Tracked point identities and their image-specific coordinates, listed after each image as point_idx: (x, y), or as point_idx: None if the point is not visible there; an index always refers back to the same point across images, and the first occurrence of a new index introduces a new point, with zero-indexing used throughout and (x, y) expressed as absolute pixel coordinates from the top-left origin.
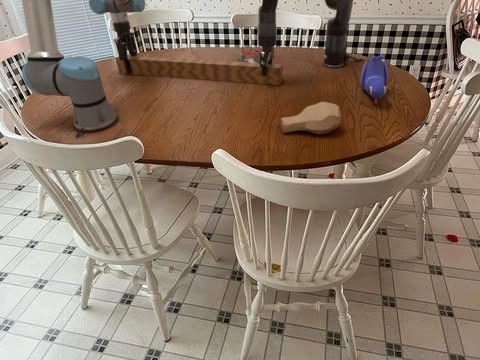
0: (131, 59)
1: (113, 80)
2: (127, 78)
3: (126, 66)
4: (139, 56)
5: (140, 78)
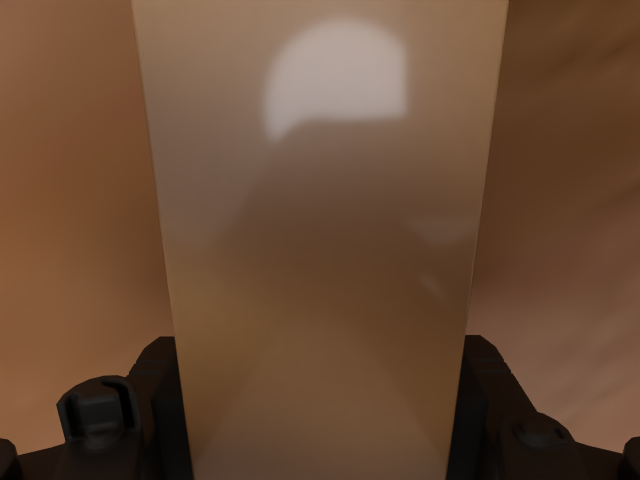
0: (463, 342)
1: (630, 373)
2: (558, 234)
3: (492, 360)
4: (177, 247)
5: (558, 13)
